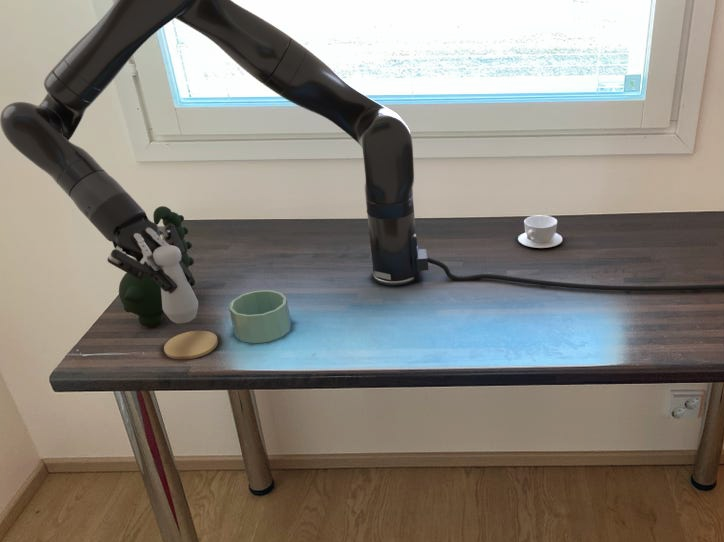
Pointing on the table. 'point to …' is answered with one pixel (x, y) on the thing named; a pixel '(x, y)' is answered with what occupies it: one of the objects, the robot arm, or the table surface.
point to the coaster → (190, 345)
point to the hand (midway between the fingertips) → (181, 285)
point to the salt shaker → (183, 299)
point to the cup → (260, 316)
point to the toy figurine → (146, 292)
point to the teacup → (540, 232)
